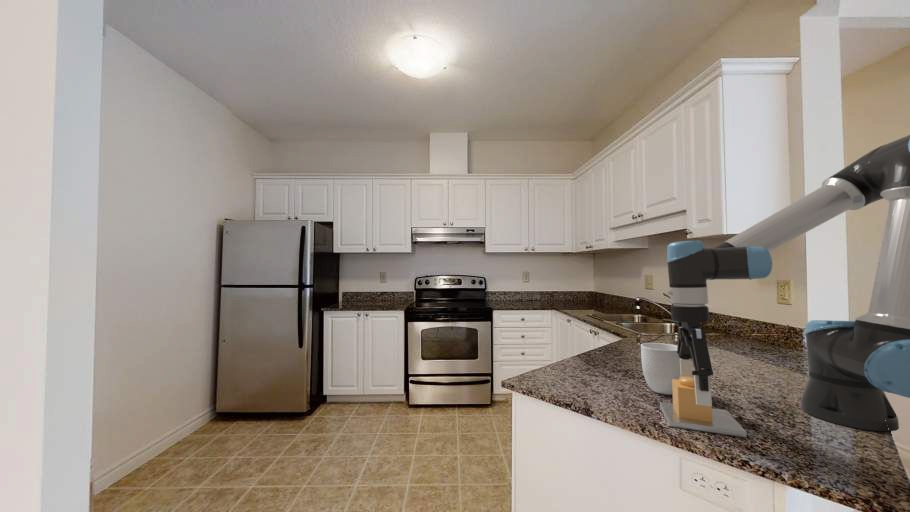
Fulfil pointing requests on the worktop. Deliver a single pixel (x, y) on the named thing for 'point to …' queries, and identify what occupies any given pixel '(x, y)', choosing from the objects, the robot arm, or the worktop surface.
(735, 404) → the worktop surface
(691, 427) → the plate with brass peg
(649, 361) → the mug
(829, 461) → the worktop surface
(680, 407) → the cube with dome top
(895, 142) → the robot arm
